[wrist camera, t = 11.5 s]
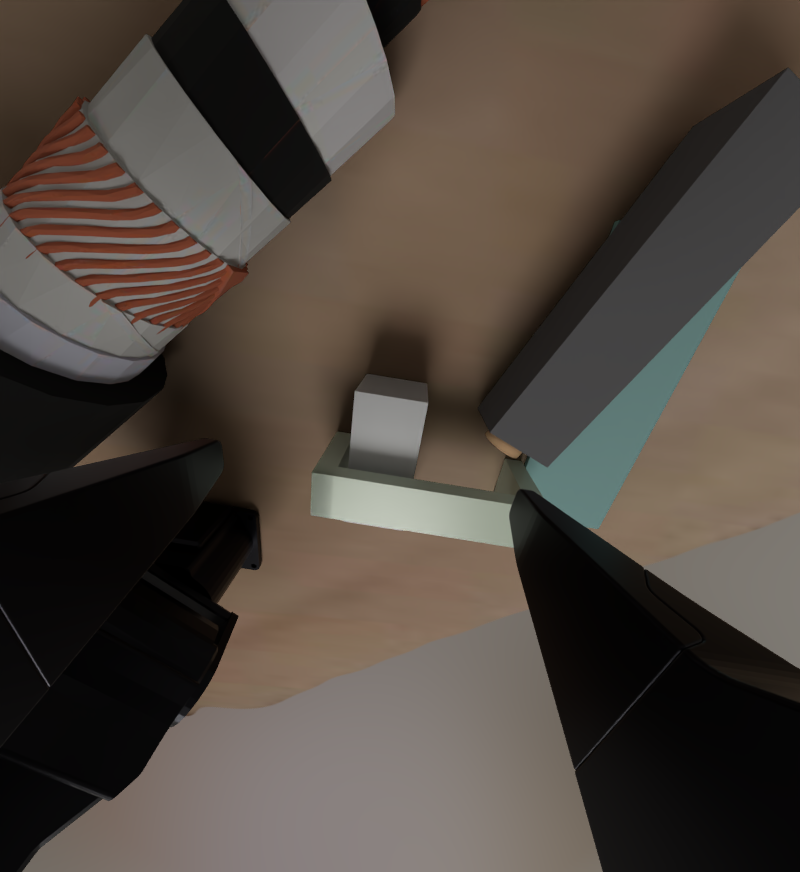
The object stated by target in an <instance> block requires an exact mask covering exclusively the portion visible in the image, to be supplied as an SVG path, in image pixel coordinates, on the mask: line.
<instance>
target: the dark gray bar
mask: <svg viewBox="0 0 800 872" xmlns="http://www.w3.org/2000/svg"><path fill="white" fill-rule="evenodd" d="M799 207H800V79H799V78H798V77H797V76H796V75H795V74H794V73H793V72H792V71H791V70H790V69H789V68H786V69H785V70H783V71H782V72H780V73H778V74H777V75H775V76H774V77H772V78H770V79H769V80H767V81H765V82H764V83H762V84H761V85H759V86H757V87H756V88H754V89H753V90H751V91H749V92H748V93H746V94H744V95H743V96H741V97H740V98H738V99H736V100H735V101H733V102H732V103H730V104H728V105H727V106H725V107H724V108H722V109H720V110H719V111H717V112H715V113H714V114H712V115H711V116H709V117H707V118H706V119H704V120H703V121H701V122H699V123H698V124H696V125H694V126H693V127H692V128H691V130H690V131H689V132H688V134H687V135H686V136H685V138H684V139H683V140H682V141H681V143H680V144H679V145H678V147H677V148H676V149H675V151H674V152H673V153H672V155H671V156H670V157H669V158H668V160H667V161H666V162H665V164H664V165H663V166H662V168H661V169H660V170H659V172H658V173H657V174H656V175H655V177H654V178H653V179H652V181H651V182H650V183H649V185H648V186H647V187H646V189H645V190H644V191H643V192H642V194H641V195H640V196H639V198H638V199H637V200H636V202H635V203H634V204H633V205H632V207H631V208H630V209H629V211H628V212H627V213H626V215H625V216H624V217H623V219H622V220H621V221H620V222H619V224H618V225H617V226H616V228H615V229H614V230H613V232H612V233H611V234H610V236H609V237H608V238H607V239H606V241H605V242H604V243H603V245H602V246H601V247H600V249H599V250H598V251H597V253H596V254H595V255H594V256H593V258H592V259H591V260H590V262H589V263H588V264H587V266H586V267H585V268H584V269H583V271H582V272H581V273H580V275H579V276H578V277H577V279H576V280H575V281H574V283H573V284H572V285H571V286H570V288H569V289H568V290H567V292H566V293H565V294H564V296H563V297H562V298H561V300H560V301H559V302H558V303H557V305H556V306H555V307H554V309H553V310H552V311H551V313H550V314H549V315H548V317H547V318H546V319H545V320H544V322H543V323H542V324H541V326H540V327H539V328H538V330H537V331H536V332H535V333H534V335H533V336H532V337H531V339H530V340H529V341H528V343H527V344H526V345H525V347H524V348H523V349H522V350H521V352H520V353H519V354H518V356H517V357H516V358H515V360H514V361H513V362H512V364H511V365H510V366H509V367H508V369H507V370H506V371H505V373H504V374H503V375H502V377H501V378H500V379H499V381H498V382H497V383H496V384H495V386H494V387H493V388H492V390H491V391H490V392H489V394H488V395H487V396H486V397H485V399H484V400H483V401H482V403H481V404H480V405H479V407H478V410H479V412H480V414H481V416H482V418H483V420H484V422H485V424H486V426H487V428H488V431H487V432H486V433H485V435H486V437H487V439H488V440H489V441H490V442H491V443H492V444H493V445H494V446H495V447H496V448H498V449H499V450H500V451H502V452H503V453H505V454H506V455H508V456H510V457H512V458H518V457H519V456H520V454H521V453H524V454H526V455H527V456H529V457H531V458H532V459H534V460H536V461H537V462H539V463H540V464H542V465H544V466H545V467H547V468H548V467H549V466H550V464H551V463H552V462H553V461H554V460H555V459H556V458H557V457H558V456H559V455H560V454H561V453H562V452H563V451H564V450H565V449H566V448H567V447H568V446H569V445H570V444H571V443H572V442H573V441H574V440H575V439H576V438H577V437H578V436H579V435H580V434H581V432H582V431H583V430H584V429H585V428H586V427H587V426H588V425H589V424H590V423H591V422H592V421H593V420H594V419H595V418H596V417H597V416H598V415H599V414H600V413H601V412H602V411H603V410H604V409H605V408H606V407H607V406H608V405H609V404H610V403H611V401H612V400H613V399H614V398H615V397H616V396H617V395H618V394H619V393H620V392H621V391H622V390H623V389H624V388H625V387H626V386H627V385H628V384H629V383H630V382H631V381H632V380H633V379H634V378H635V377H636V376H637V375H638V374H639V373H640V372H641V370H642V369H643V368H644V367H645V366H646V365H647V364H648V363H649V362H650V361H651V360H652V359H653V358H654V357H655V356H656V355H657V354H658V353H659V352H660V351H661V350H662V349H663V348H664V347H665V346H666V345H667V344H668V343H669V342H670V341H671V339H672V338H673V337H674V336H675V335H676V334H677V333H678V332H679V331H680V330H681V329H682V328H683V327H684V326H685V325H686V324H687V323H688V322H689V321H690V320H691V319H692V318H693V317H694V316H695V315H696V314H697V313H698V312H699V311H700V310H701V308H702V307H703V306H704V305H705V304H706V303H707V302H708V301H709V300H710V299H711V298H712V297H713V296H714V295H715V294H716V293H717V292H718V291H719V290H720V289H721V288H722V287H723V286H724V285H725V284H726V283H727V282H728V281H729V280H730V279H731V278H732V276H733V275H734V274H735V273H736V272H737V271H738V270H739V269H740V268H741V267H742V266H743V265H744V264H745V263H746V262H747V261H748V260H749V259H750V258H751V257H752V256H753V255H754V254H755V253H756V252H757V251H758V250H759V249H760V248H761V247H762V245H763V244H764V243H765V242H766V241H767V240H768V239H769V238H770V237H771V236H772V235H773V234H774V233H775V232H776V231H777V230H778V229H779V228H780V227H781V226H782V225H783V224H784V223H785V222H786V221H787V220H788V219H789V218H790V217H791V216H792V214H793V213H794V212H795V211H796V210H797V209H798V208H799Z"/></svg>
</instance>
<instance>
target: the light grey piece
mask: <svg viewBox="0 0 800 872" xmlns="http://www.w3.org/2000/svg"><path fill="white" fill-rule="evenodd" d="M350 441H351V434H350V433H344V432H338V431H337V433H336V434H335V436H334V437H333V439H332V441H331V442H330V444H329V445H328V447H327V449H326V450H325V452H324V454H323V455H322V457H321V458H320V460H319V462H318V463H317V465H316V467H315V468H314V470H313V471H312V485H311V515H313V516H319V517H325V518H331V519H338V520H344V521H350V522H356V523H363V524H369V525H375V526H381V527H388V528H394V529H400V530H406V531H413V532H419V533H425V534H431V535H438V536H444V537H450V538H456V539H463V540H469V541H475V542H481V543H487V544H494V545H500V546H506V547H512V548H514V546H513V539H512V533H511V527H510V521H509V512H510V509H511V506H512V503H513V501H514V498H515V495H516V493H517V491H518V490H519V489H526V490H532V491H534V492H536V493H537V494H539V495H540V496H542V495H541V493H540V491H539V490H538V488H537V486H536V485H535V483H534V481H533V480H532V478H531V476H530V475H529V473H528V471H527V470H526V468H525V466H524V465H523V463H522V461H518V460H511V459H505V460H504V463H503V466H502V469H501V472H500V475H499V478H498V481H497V484H496V487H495V490H494V492H492V491H486V490H480V489H473V488H467V487H461V486H455V485H449V484H442V483H436V482H430V481H424V480H417V479H411V478H405V477H399V476H393V475H386V474H380V473H374V472H368V471H361V470H355V469H349V468H348V464H349V452H350ZM542 497H543V496H542Z"/></svg>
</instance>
